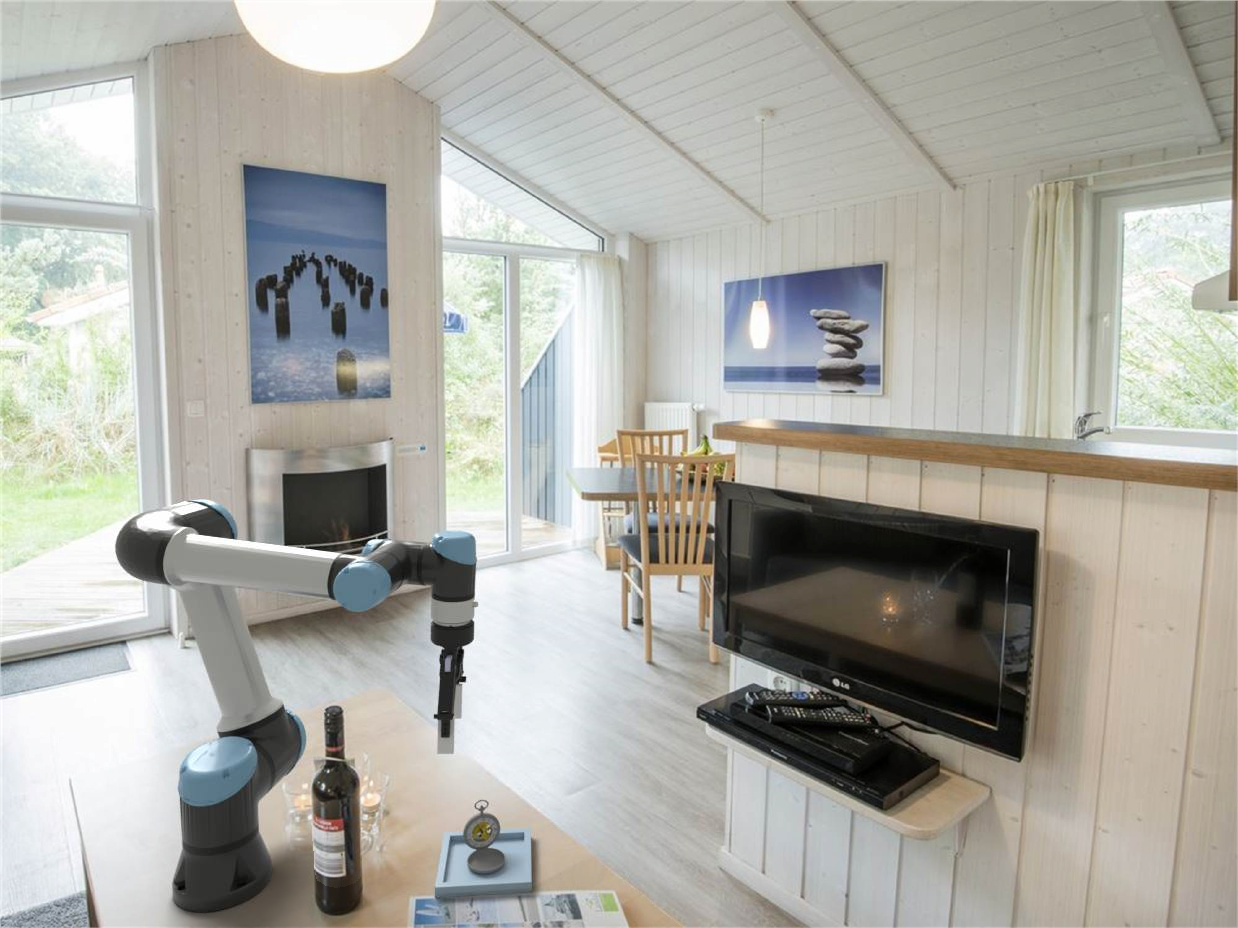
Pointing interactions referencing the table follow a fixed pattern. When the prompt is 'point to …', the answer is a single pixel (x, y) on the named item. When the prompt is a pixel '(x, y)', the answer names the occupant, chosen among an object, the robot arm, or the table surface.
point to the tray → (507, 879)
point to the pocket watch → (483, 842)
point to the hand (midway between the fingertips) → (449, 734)
